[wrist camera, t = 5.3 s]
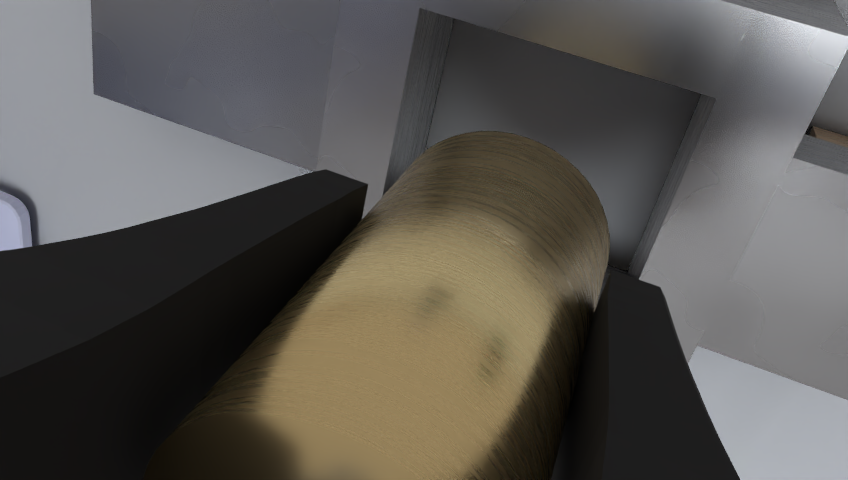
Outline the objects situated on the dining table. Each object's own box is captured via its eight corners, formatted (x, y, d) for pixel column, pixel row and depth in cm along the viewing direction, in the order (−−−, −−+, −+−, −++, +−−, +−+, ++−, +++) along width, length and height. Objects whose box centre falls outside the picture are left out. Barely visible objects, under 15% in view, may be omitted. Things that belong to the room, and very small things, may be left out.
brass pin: (375, 288, 12) (139, 607, 7) (414, 100, 11) (142, 352, 6) (570, 361, 12) (457, 759, 7) (643, 175, 10) (563, 525, 5)
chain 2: (348, 228, 17) (299, 283, 16) (409, -118, 14) (354, -104, 12) (950, 447, 15) (984, 544, 13) (1226, 108, 11) (1329, 173, 9)
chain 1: (130, 149, 18) (96, 168, 17) (129, -196, 15) (85, -196, 14) (667, 344, 16) (663, 379, 15) (833, -1, 12) (842, 17, 11)
